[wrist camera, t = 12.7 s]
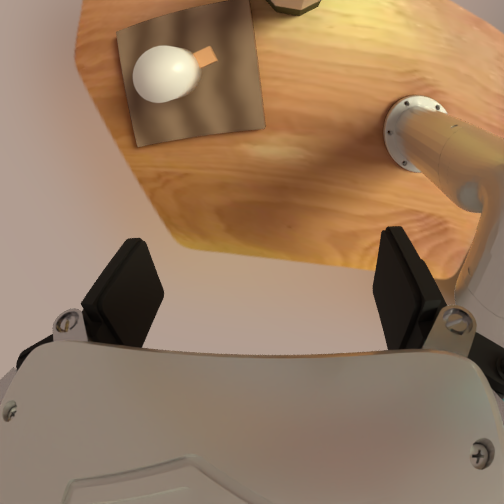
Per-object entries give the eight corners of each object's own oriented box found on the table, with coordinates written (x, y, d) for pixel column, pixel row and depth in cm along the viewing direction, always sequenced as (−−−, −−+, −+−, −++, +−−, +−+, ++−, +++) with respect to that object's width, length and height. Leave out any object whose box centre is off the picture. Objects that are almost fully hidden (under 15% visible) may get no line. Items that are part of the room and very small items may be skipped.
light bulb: (225, 77, 31) (216, 77, 27) (163, 107, 33) (147, 113, 29) (203, 31, 27) (191, 26, 23) (142, 64, 30) (124, 65, 26)
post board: (249, 1, 29) (244, -10, 24) (265, 126, 40) (262, 134, 35) (122, 32, 32) (102, 30, 27) (142, 143, 43) (125, 154, 38)
